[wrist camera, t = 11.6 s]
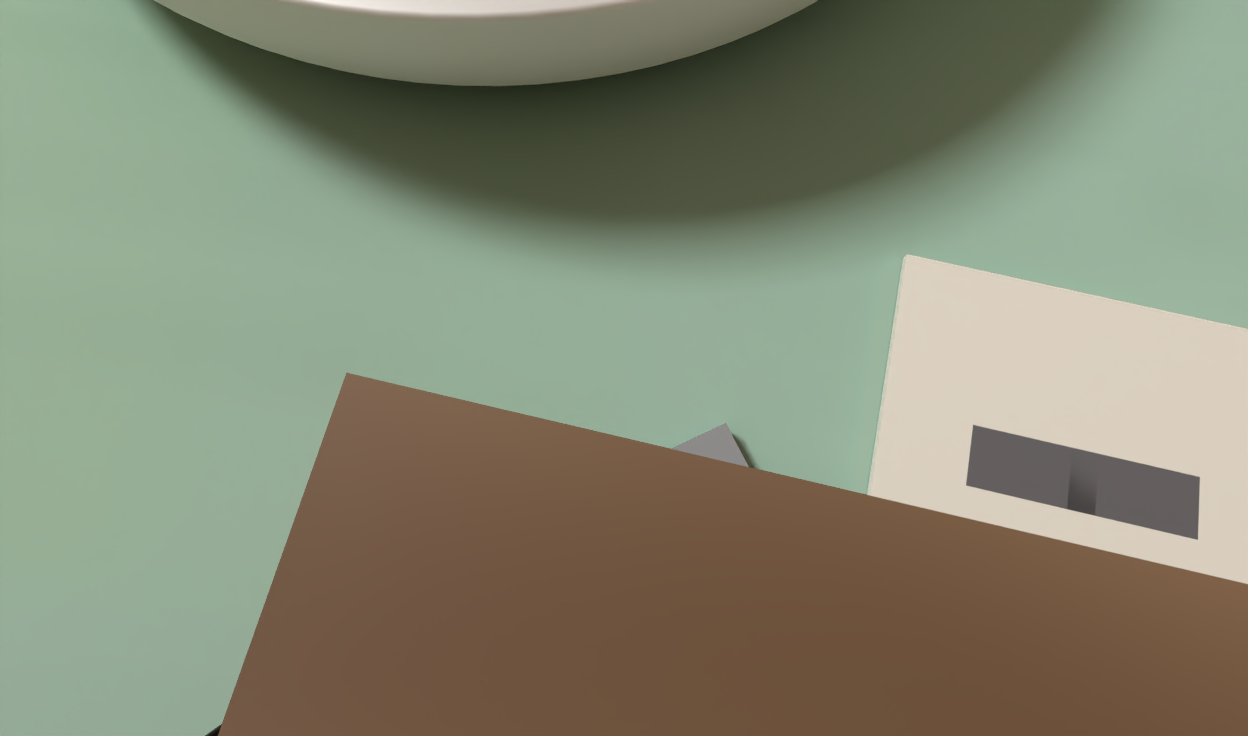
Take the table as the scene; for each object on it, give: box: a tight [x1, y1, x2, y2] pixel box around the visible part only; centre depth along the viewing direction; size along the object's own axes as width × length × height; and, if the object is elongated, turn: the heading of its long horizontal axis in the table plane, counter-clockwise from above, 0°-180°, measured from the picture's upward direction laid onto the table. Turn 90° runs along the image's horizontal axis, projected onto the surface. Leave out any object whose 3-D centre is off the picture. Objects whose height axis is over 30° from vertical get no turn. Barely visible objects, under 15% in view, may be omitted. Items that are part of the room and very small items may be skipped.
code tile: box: [867, 254, 1248, 584], centre depth 19 cm, size 9×9×1 cm
